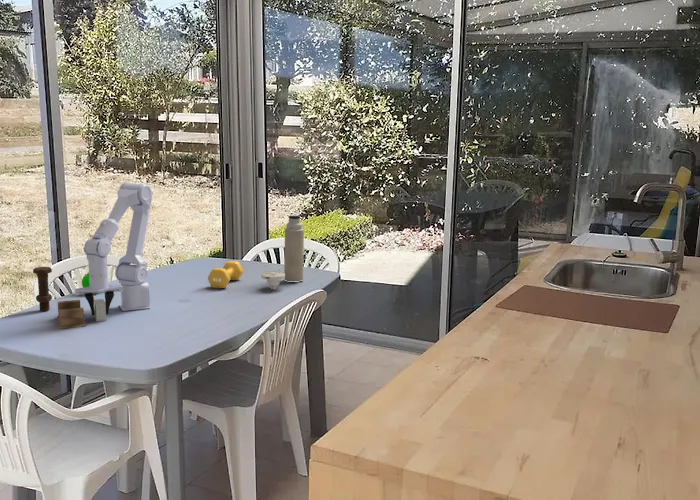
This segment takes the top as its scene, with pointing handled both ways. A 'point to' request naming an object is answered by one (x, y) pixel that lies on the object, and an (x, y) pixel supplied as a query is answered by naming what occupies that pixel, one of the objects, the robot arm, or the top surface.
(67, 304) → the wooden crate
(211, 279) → the dumbbell
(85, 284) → the ornament
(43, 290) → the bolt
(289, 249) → the thermos bottle
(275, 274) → the showerhead
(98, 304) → the grey concrete block
